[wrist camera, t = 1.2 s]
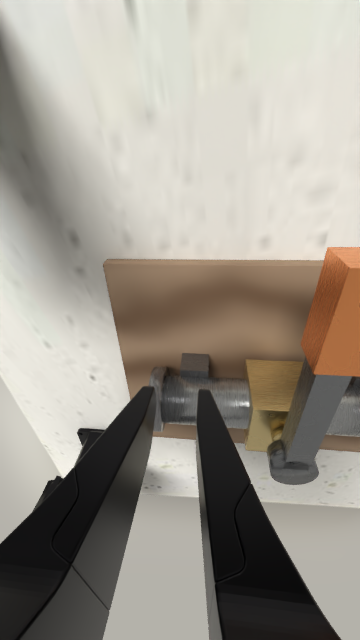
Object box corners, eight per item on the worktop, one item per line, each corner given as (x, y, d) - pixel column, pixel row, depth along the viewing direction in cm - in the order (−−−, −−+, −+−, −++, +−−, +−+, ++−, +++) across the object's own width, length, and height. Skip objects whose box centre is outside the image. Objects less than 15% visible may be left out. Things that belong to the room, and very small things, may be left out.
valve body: (379, 402, 25) (428, 478, 20) (161, 390, 27) (148, 454, 22) (405, 360, 22) (470, 435, 17) (157, 350, 24) (140, 412, 19)
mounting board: (380, 445, 30) (384, 453, 29) (139, 427, 33) (137, 435, 32) (506, 261, 18) (520, 267, 17) (107, 259, 21) (102, 264, 20)
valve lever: (304, 459, 20) (313, 491, 18) (263, 455, 20) (268, 487, 18) (394, 247, 11) (431, 268, 9) (317, 247, 11) (338, 268, 9)
